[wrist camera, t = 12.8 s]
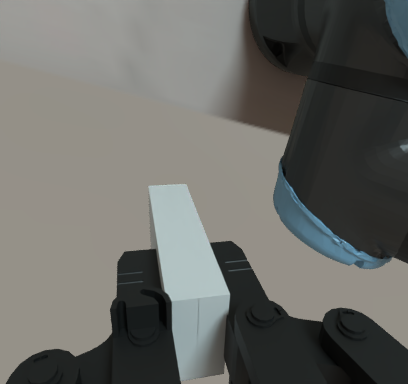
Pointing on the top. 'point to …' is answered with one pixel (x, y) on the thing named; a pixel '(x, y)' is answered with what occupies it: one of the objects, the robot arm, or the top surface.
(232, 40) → the top surface
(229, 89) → the top surface
